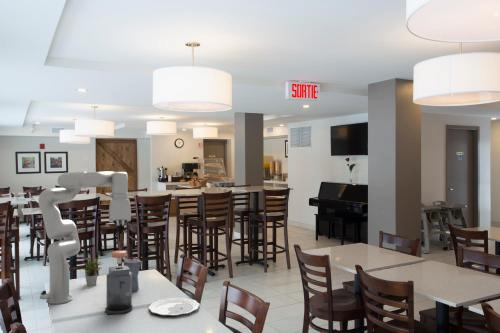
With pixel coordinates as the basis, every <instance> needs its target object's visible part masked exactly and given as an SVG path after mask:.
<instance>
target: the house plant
mask: <svg viewBox="0 0 500 333" xmlns="http://www.w3.org/2000/svg"><path fill="white" fill-rule="evenodd" d="M99 260H100V258H99V259H97V258H95V259H94V261H93V262H92V258H91V257H90V258H89V259H88V258H87V262H86V263H85V262H84V261H82V263H83V265H84V266H85V267H86V268H84V267H83V268H81V270H83V271H85V276H84V278H85V281H86V282H85V283H86V286H87V287H95V286H97V280H98V275H99V274H98V273H96V272H97V271H99V272H101V270H102V267H101V265H102V264H103V260H101V261H99ZM99 266H100V267H99Z"/></svg>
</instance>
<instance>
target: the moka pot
mask: <svg viewBox="0 0 500 333" xmlns="http://www.w3.org/2000/svg"><path fill="white" fill-rule="evenodd" d="M122 263H123V266H125V265H126V266H127V267H128V268H129V269H130V272H131V273H132V293H133V294H134V293H136V292H139V290H140V289H139V287H140V286H139V272H140V268H141V266H142V264H143V261H141V259H138V258H134V256H133V255H131V256H130V258H129V259H127V258H123V257H122V258H121V264H118V266H122Z"/></svg>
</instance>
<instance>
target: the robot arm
mask: <svg viewBox="0 0 500 333" xmlns="http://www.w3.org/2000/svg"><path fill="white" fill-rule="evenodd" d="M128 180H129V178H128V173H127V172H126V171H111V170H110V171H108V170H107V171H91V172H89V171H74V172H63V173H61V174H60V175H58V177H57V185H58V187H50V188H46V189H44V190H42V191H41V193H40V194H39V195H38V207H39V210H40V212H41V214H42V218H43V224H44V228H45V232H46V235H47V237H48V239H50V240H57V241H54V242H52V243H50V244H49V246H48V248H47V257H48V263H49V264H48V265H49V291H48V293H45V294H40V295H39V300H46V303H47V304H48V305H49V304H50V305H61V304H65V303H69V302H71V301H72V300H73V295H70V264H69V262H68V261H67V258H70V257H74V256H76V255H78V254H79V252H80V250H81V242H80V238H79V234H78V229H77V225H76V224H75V222H74V221H73V220H71V219H67V218H66V219H62V215H61V211H60V209H59V208H58V207H57V206H56V205H57V204H63V203H64V204H65V203H69V202H72V201H73V200H74V199H75V198H76V196H77V195H78V194H79V193H80V191H81V190H82V189H86V188H102V187H111V194H108V198H110V201H109V207H108V208H109V209H108V218H109V219H108V222H109V223H112V224H114V225H116V233H118V235H120V234H121V235H122V234H123V233H124V225H126V223H128V222H131V220H132V208H131V201H130V198H128V197H129V196H128V194H129V193H128V191H129V190H128V186H129V185H128V184H129V183H128ZM58 239H61V240H59V241H58Z"/></svg>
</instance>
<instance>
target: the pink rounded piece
mask: <svg viewBox="0 0 500 333" xmlns="http://www.w3.org/2000/svg"><path fill="white" fill-rule="evenodd" d="M127 252H128V251H126V250H115V251H112V252H111V257H112V258H115V259H117V260H116V264H117V265H119V264H121V265H122V261H121V258H122V259H123V258H126V257H127V255H128V254H127Z"/></svg>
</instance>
